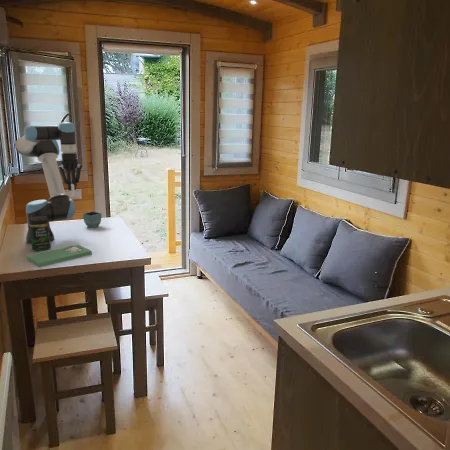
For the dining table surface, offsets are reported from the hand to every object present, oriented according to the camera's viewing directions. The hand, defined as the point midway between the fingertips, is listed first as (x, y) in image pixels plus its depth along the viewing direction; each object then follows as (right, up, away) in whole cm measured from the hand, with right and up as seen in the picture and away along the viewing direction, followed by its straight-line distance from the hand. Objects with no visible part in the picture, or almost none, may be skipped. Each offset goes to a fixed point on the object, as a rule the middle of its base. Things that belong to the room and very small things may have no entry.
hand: (72, 196), depth 232 cm
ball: (+2, -29, -3) cm, 29 cm away
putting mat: (-3, -32, -9) cm, 34 cm away
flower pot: (-4, -17, +49) cm, 52 cm away
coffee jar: (-18, -29, +3) cm, 35 cm away
